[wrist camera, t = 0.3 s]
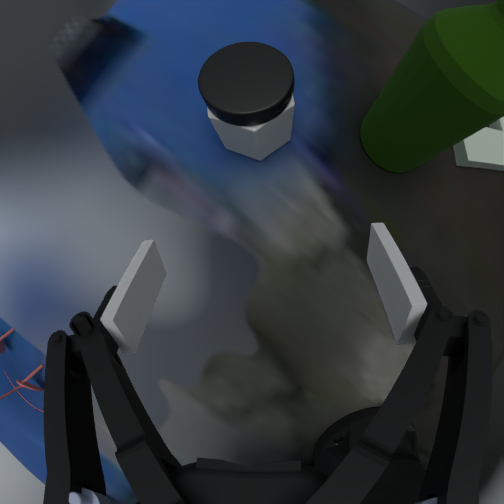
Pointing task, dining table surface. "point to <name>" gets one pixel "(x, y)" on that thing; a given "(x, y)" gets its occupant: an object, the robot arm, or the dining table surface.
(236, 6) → the dining table surface
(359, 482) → the robot arm
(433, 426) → the dining table surface
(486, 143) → the plinth
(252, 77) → the jar
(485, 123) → the wine bottle
